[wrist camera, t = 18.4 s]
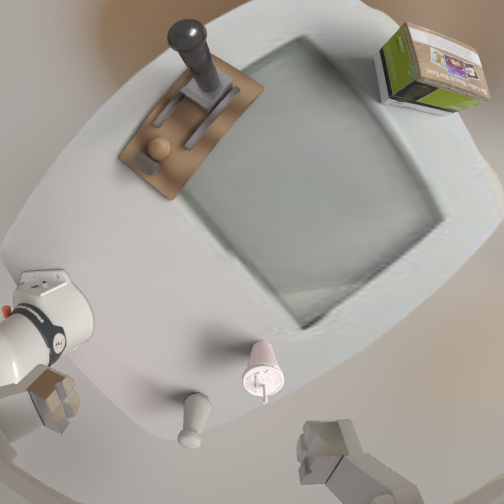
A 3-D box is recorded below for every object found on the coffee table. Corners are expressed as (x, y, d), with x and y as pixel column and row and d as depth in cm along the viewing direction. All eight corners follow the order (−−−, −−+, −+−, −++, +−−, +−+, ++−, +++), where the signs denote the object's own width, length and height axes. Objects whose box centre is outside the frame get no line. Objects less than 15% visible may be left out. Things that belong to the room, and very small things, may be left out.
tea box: (435, 72, 36) (478, 48, 22) (443, 117, 38) (493, 103, 24) (370, 56, 36) (406, 18, 22) (378, 105, 39) (422, 77, 24)
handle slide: (210, 70, 36) (181, 2, 18) (235, 87, 37) (220, 19, 18) (185, 98, 37) (139, 42, 19) (210, 115, 38) (176, 62, 19)
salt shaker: (213, 410, 52) (205, 455, 39) (187, 406, 52) (174, 450, 39) (213, 391, 51) (204, 437, 38) (185, 387, 51) (170, 432, 38)
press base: (207, 54, 37) (201, 38, 31) (264, 90, 39) (265, 76, 33) (122, 159, 41) (105, 155, 35) (173, 200, 43) (161, 201, 37)
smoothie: (254, 367, 49) (253, 420, 35) (238, 342, 48) (232, 393, 34) (285, 355, 48) (293, 406, 35) (270, 328, 47) (274, 377, 34)
